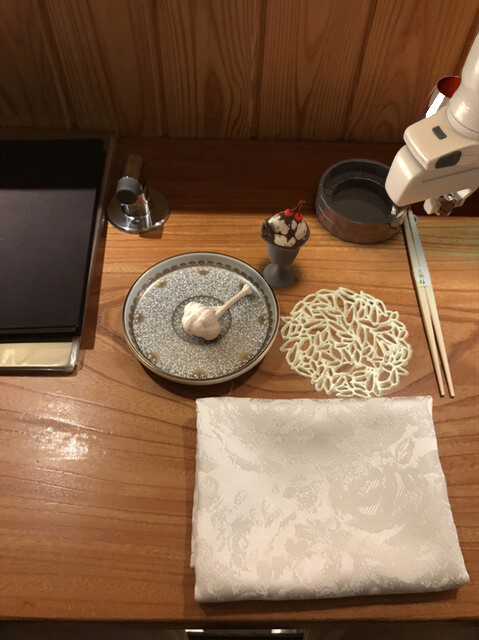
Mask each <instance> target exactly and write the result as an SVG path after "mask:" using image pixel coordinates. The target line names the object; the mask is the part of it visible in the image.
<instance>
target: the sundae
mask: <svg viewBox="0 0 479 640" xmlns="http://www.w3.org/2000/svg"><path fill="white" fill-rule="evenodd" d="M303 204H306V200H299V203H298V204H297V206H296V207H294V208H292V209H291V208H286V209H285V211H280V212H278V213H275V214H273V215H270V216H267V217H266V218H264V219H263V222H262V224H261V229H260V238H261V239H262V240H263V241H264V242H265V243H266V249H267V256H268V258H269V260H270V261H269V262H271V263H269V264H267V265H266V266H265V268H263V269H264V270H263V273H262V276H263V279H264V281H265V280H266V281H267V282H266V281H265V282H266V283H267V284H268V285H270V287H271V286H272V287H274V288H279V289H282V288H287V287H290V286H291V285H292V284H293V282H294V281H295V279H296V272H295V270H294V268H293V267H292V266H290V265H291V264H293V263H294V262H295V260H296V258H297V257H298V254H299V252H300V250H301V248H302V247H303V246H305V245H306V243H307V242H308V241H309V239H310V237H311V229H310V227H309V225H308V223H307V221H306V220H305V219H304V216H303V214H301V208H302V206H303ZM298 208H299V209H298ZM296 209H298V212H296V213H294V211H295V210H296Z"/></svg>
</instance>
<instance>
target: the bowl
mask: <svg viewBox="0 0 479 640" xmlns="http://www.w3.org/2000/svg"><path fill="white" fill-rule="evenodd" d="M390 168H391V166H390V165H387V164H385V163H383V162H381V161H378V160H373V159H368V158H350V159H344V160H340V161H338V162H336V163H334V164H332V165H331V166H328V168H327V169H326V171H324V172H323V173H322V175H321V178H320V181H319V184H318V188H317V193H316V198H315V203H314V205H315V213H316V216H317V218H318V220H319V222H320V223H321V225H322V226H323V227H324V228H325V229H326V230H327V231H329V233H330V234H332V235H334V236H335V237H338V238H340V239H342V240H343V241H347V242H352V243H355V244H375V243H379V242H383V241H386V240H388V239H389V238H391V237H393V236H394V235H396V233H398V231H399V229H400V228H401V227H402V225H403V224H404V223H403V222H404V220H405V218H406V215H407V213H408V210H409V208H410V205H411V204H408V205H405V206H397V205H396V204H395V203H394V202H393V201H392V199H391V198H390V196H389V195H388V193H387V191H386V188H385V184H386V180H387V176H388V173H389V171H390Z"/></svg>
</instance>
